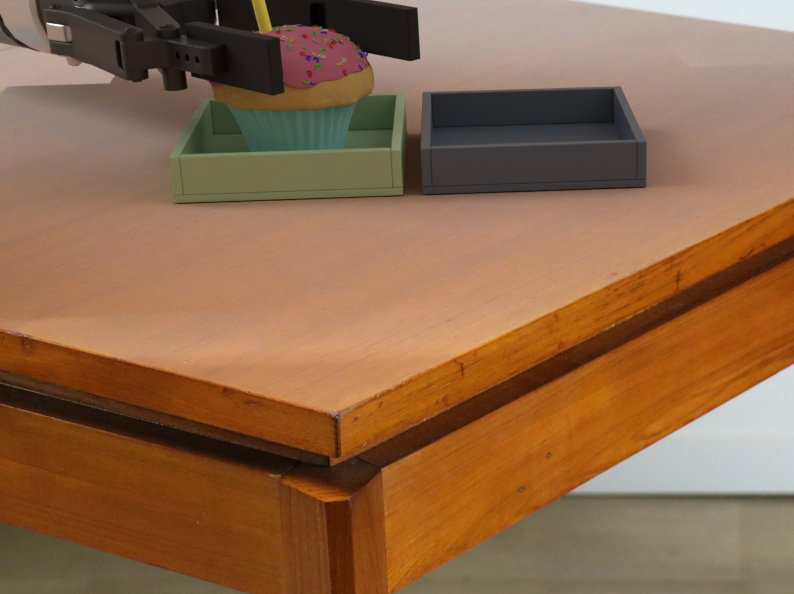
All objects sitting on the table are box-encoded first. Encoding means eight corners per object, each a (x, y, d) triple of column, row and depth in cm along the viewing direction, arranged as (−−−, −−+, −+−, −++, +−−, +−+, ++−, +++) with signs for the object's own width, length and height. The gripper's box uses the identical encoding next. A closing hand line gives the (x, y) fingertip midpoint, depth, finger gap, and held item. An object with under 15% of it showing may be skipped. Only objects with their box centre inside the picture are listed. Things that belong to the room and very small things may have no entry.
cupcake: (212, 184, 78) (184, -56, 73) (225, 140, 86) (201, -80, 81) (380, 176, 79) (364, -62, 74) (378, 133, 86) (363, -85, 81)
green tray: (174, 203, 76) (168, 157, 75) (207, 139, 87) (202, 98, 86) (403, 195, 77) (400, 149, 76) (407, 133, 88) (405, 92, 87)
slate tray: (422, 194, 77) (420, 148, 76) (424, 132, 88) (422, 91, 87) (646, 187, 78) (646, 141, 77) (620, 126, 89) (620, 85, 88)
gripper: (241, 33, 99) (494, 83, 86) (-65, 97, 84) (183, 170, 71) (229, -87, 96) (489, -54, 82) (-92, -42, 81) (162, 7, 68)
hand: (347, 49), depth 77 cm, fingers closed on cupcake, 9 cm apart
